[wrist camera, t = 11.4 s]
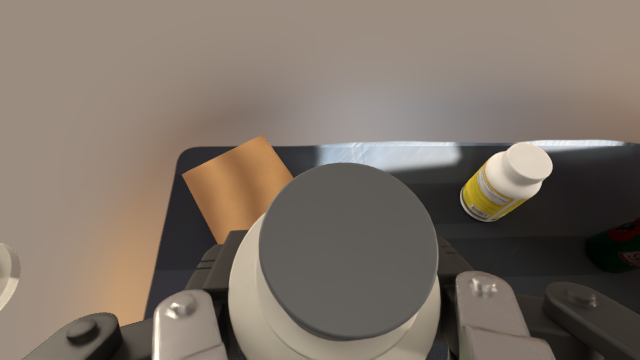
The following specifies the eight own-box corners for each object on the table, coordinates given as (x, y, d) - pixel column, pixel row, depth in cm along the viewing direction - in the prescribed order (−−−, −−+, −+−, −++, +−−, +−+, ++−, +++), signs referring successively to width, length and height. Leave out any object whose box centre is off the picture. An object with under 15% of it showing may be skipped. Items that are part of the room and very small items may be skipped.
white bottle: (308, 402, 14) (289, 616, 3) (252, 297, 16) (119, 192, 5) (398, 329, 15) (607, 288, 4) (336, 242, 18) (375, 68, 7)
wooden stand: (240, 269, 37) (221, 250, 30) (206, 206, 41) (181, 174, 33) (308, 227, 40) (308, 198, 32) (271, 171, 44) (262, 134, 36)
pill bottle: (498, 184, 44) (551, 138, 34) (507, 224, 41) (568, 187, 31) (455, 180, 44) (496, 134, 34) (461, 221, 41) (507, 183, 31)
